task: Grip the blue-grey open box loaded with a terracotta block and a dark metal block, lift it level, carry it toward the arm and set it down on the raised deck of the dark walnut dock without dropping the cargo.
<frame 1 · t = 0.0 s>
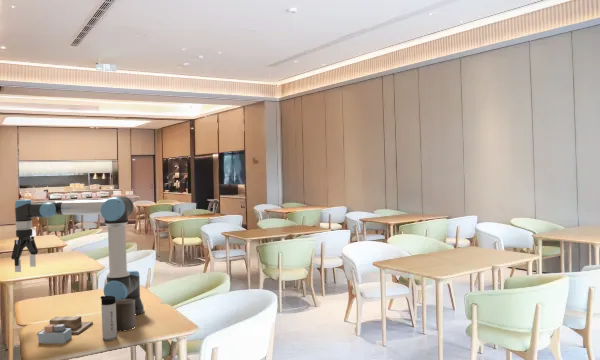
hand: (25, 269, 258), 28 cm above the table, tool pointing down, fingers open, 13 cm apart
travel mug: (109, 339, 229), on the table
blue-grey open box: (55, 341, 229), on the table, touching metal block, terracotta block
dock: (66, 329, 245), on the table
metal block: (59, 332, 229), point 4 cm above the table, touching blue-grey open box
pillar candle: (125, 328, 244), on the table
terracotta block: (50, 333, 229), point 4 cm above the table, touching blue-grey open box
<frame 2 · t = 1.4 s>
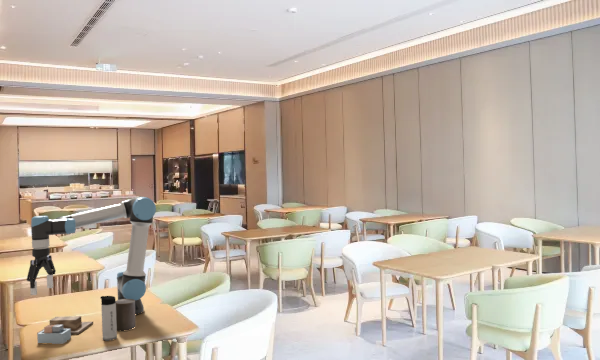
hand: (42, 291, 239), 21 cm above the table, tool pointing down, fingers open, 13 cm apart
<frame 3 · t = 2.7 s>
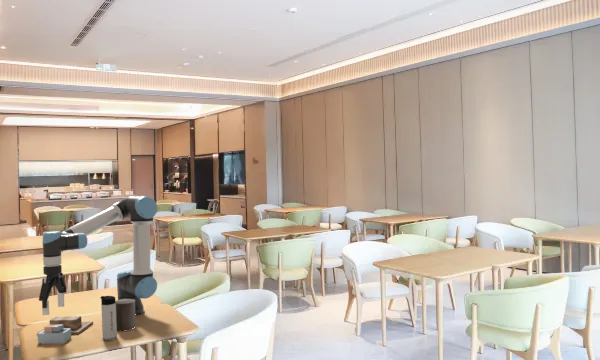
hand: (53, 310, 228), 14 cm above the table, tool pointing down, fingers open, 13 cm apart
blue-grey open box: (54, 341, 229), on the table, touching metal block
terracotta block: (50, 333, 228), point 4 cm above the table
everything else where it was.
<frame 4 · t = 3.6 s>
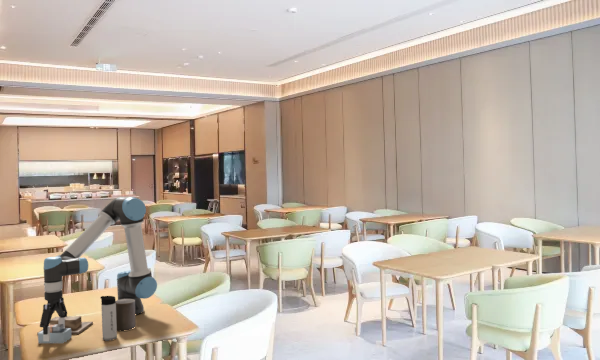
hand: (54, 336, 228), 2 cm above the table, tool pointing down, fingers open, 13 cm apart
blue-grey open box: (55, 341, 229), on the table, touching terracotta block
metal block: (58, 332, 229), point 4 cm above the table, touching terracotta block
terracotta block: (50, 333, 228), point 4 cm above the table, touching metal block, blue-grey open box
everything else where it was.
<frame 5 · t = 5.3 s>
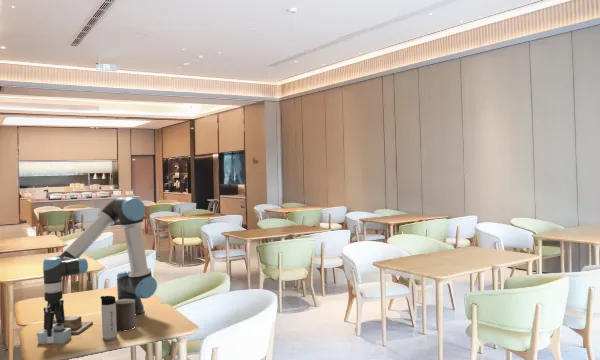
hand: (55, 340, 229), 0 cm above the table, tool pointing down, fingers closed on blue-grey open box, 7 cm apart
blue-grey open box: (54, 341, 229), on the table, touching gripper, terracotta block
metal block: (58, 332, 229), point 4 cm above the table
terracotta block: (50, 332, 229), point 4 cm above the table, touching blue-grey open box
everything else where it was.
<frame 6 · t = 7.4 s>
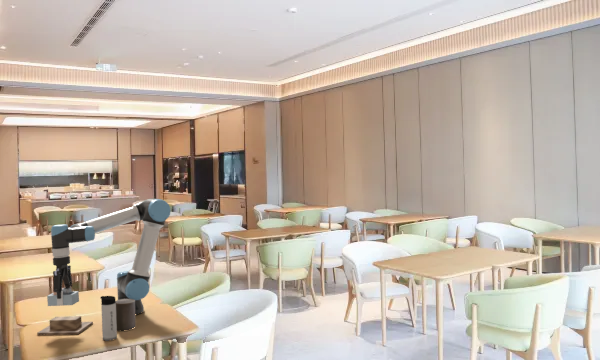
hand: (64, 302, 241), 14 cm above the table, tool pointing down, fingers closed on blue-grey open box, 7 cm apart
blue-grey open box: (63, 303, 241), point 14 cm above the table, touching gripper, metal block, terracotta block
metal block: (66, 295, 241), point 18 cm above the table, touching blue-grey open box
terracotta block: (58, 295, 240), point 18 cm above the table, touching blue-grey open box
everything else where it was.
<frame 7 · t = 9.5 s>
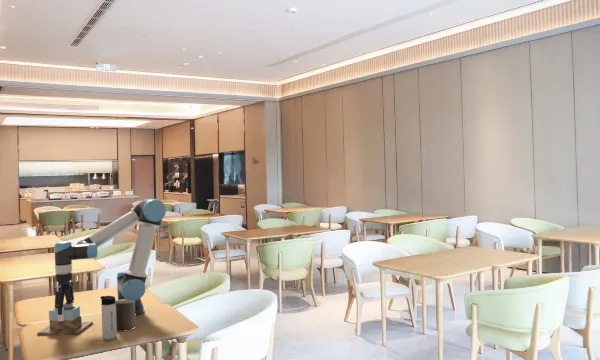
hand: (65, 318, 244), 6 cm above the table, tool pointing down, fingers closed on blue-grey open box, 7 cm apart
blue-grey open box: (64, 318, 244), point 6 cm above the table, touching dock, gripper, metal block, terracotta block
metal block: (67, 310, 245), point 10 cm above the table, touching blue-grey open box
terracotta block: (60, 310, 244), point 10 cm above the table, touching blue-grey open box
everything else where it was.
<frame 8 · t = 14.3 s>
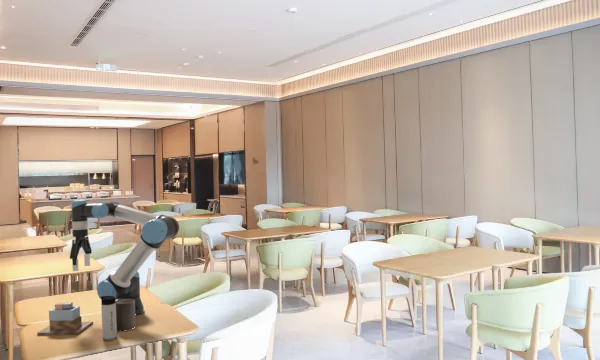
hand: (81, 268, 263), 27 cm above the table, tool pointing down, fingers open, 13 cm apart
blue-grey open box: (64, 318, 244), point 6 cm above the table, touching dock, metal block, terracotta block
everything else where it was.
at the end: blue-grey open box inside the target area on the dock (0.3 cm from its centre), point 5.6 cm above the dock's base; terracotta block inside the target area on the blue-grey open box (2.0 cm from its centre), point 4.0 cm above the blue-grey open box's base; metal block inside the target area on the blue-grey open box (1.6 cm from its centre), point 4.0 cm above the blue-grey open box's base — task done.
